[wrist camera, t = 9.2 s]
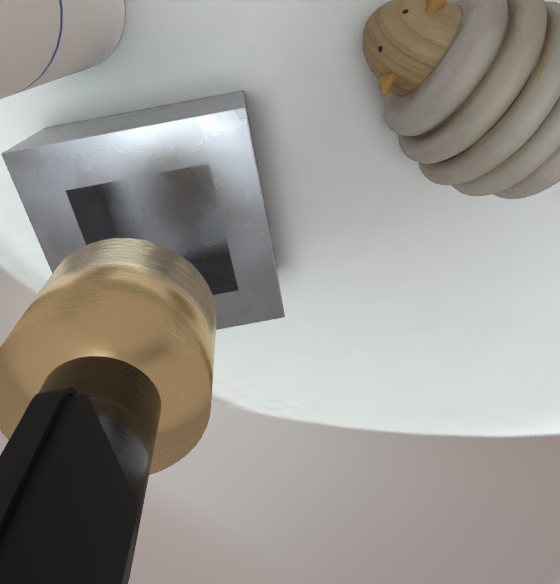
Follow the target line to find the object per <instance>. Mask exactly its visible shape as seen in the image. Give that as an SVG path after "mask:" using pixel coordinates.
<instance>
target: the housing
mask: <svg viewBox="0 0 560 584" xmlns="http://www.w3.org/2000/svg"><path fill="white" fill-rule="evenodd" d="M2 157H3V159H4V161H5V164H6V166H7V168H8V171H9V173H10V175H11V178H12V180H13V182H14V185H15V187H16V189H17V192H18V194H19V196H20V199H21V201H22V203H23V206H24V208H25V210H26V213H27V215H28V217H29V220H30V222H31V224H32V227H33V229H34V231H35V234H36V236H37V238H38V241H39V243H40V245H41V248H42V250H43V252H44V255H45V257H46V259H47V262H48V264H49V266H50V269H51V271H52V273H54V271H55V270H56V268H57V267H58V266H59V265H60V264H61V262H62V261H63V260H64V259H65V258H67V257H68V256H69V255H70V254H72V253H73V252H75V251H76V250H78V249H80V248H82V247H83V246H86V245H88V244H91V243H93V242H97V241H101V240H105V239H113V238H132V239H141V240H145V241H149V242H153V243H156V244H159V245H162V246H164V247H166V248H168V249H170V250H172V251H174V252H176V253H177V254H179V255H180V256H182V257H184V258H185V259H186V260H187V261H188V262H190V263H191V264H192V265H193V266H194V267H195V268H196V269H197V270H198V271H199V272H200V274H201V275H202V276H203V278H204V279H205V281H206V282H207V284H208V286H209V288H210V290H211V292H212V295H213V298H214V301H215V306H216V330H217V329H222V328H228V327H233V326H239V325H244V324H249V323H255V322H260V321H266V320H271V319H277V318H282V317H285V315H284V309H283V303H282V297H281V291H280V285H279V278H278V272H277V267H276V261H275V256H274V251H273V246H272V240H271V235H270V230H269V224H268V219H267V214H266V209H265V203H264V198H263V193H262V188H261V182H260V177H259V172H258V166H257V161H256V156H255V151H254V145H253V140H252V135H251V130H250V124H249V119H248V114H247V108H246V103H245V98H244V93H243V91H239V92H233V93H228V94H223V95H218V96H212V97H207V98H202V99H196V100H191V101H186V102H181V103H175V104H170V105H165V106H159V107H154V108H149V109H144V110H138V111H133V112H128V113H122V114H117V115H112V116H107V117H101V118H96V119H91V120H85V121H80V122H75V123H70V124H64V125H59V126H54V127H48V128H44V129H43V130H41V131H39V132H38V133H36V134H34V135H32V136H31V137H29V138H27V139H26V140H24V141H22V142H20V143H19V144H17V145H15V146H14V147H12V148H10V149H8V150H7V151H5V152H3V153H2Z"/></svg>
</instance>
